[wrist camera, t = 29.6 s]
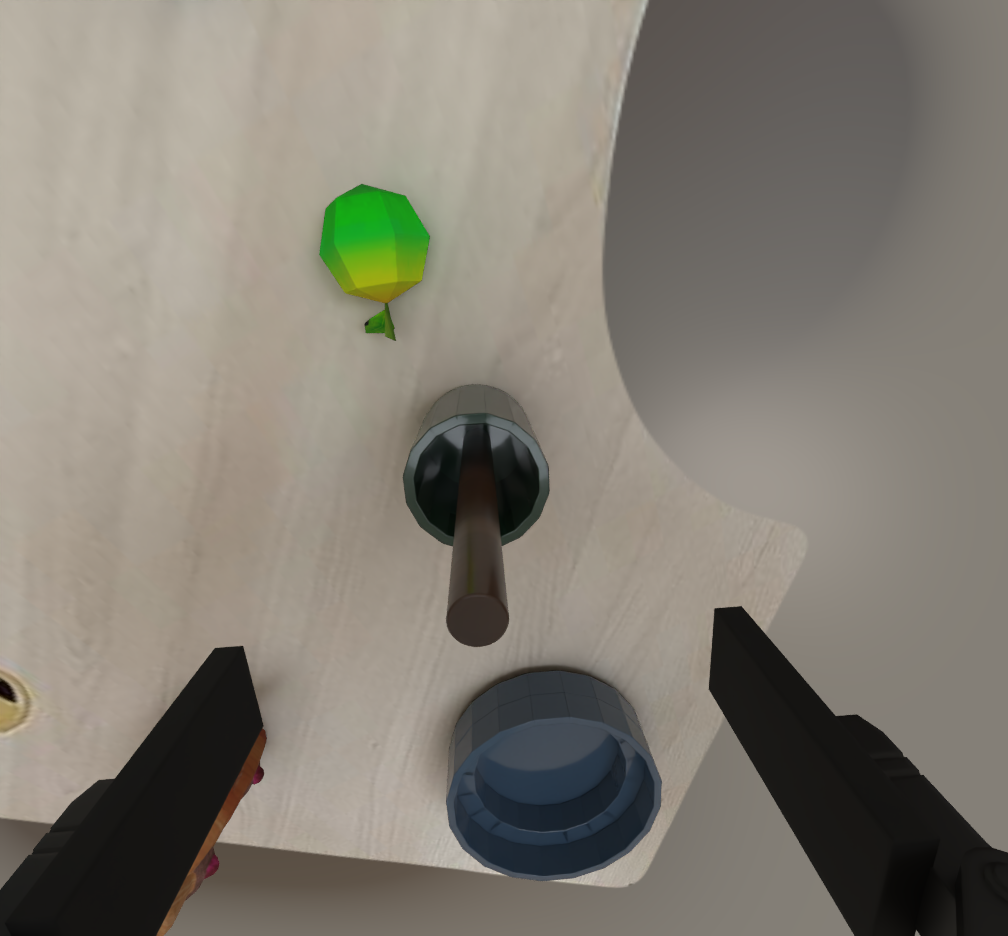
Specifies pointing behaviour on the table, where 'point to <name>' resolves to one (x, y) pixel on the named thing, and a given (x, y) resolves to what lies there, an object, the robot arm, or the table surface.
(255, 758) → the mug
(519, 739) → the bowl
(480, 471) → the stick
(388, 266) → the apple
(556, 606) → the table surface
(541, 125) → the table surface
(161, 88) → the table surface
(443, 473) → the holder
